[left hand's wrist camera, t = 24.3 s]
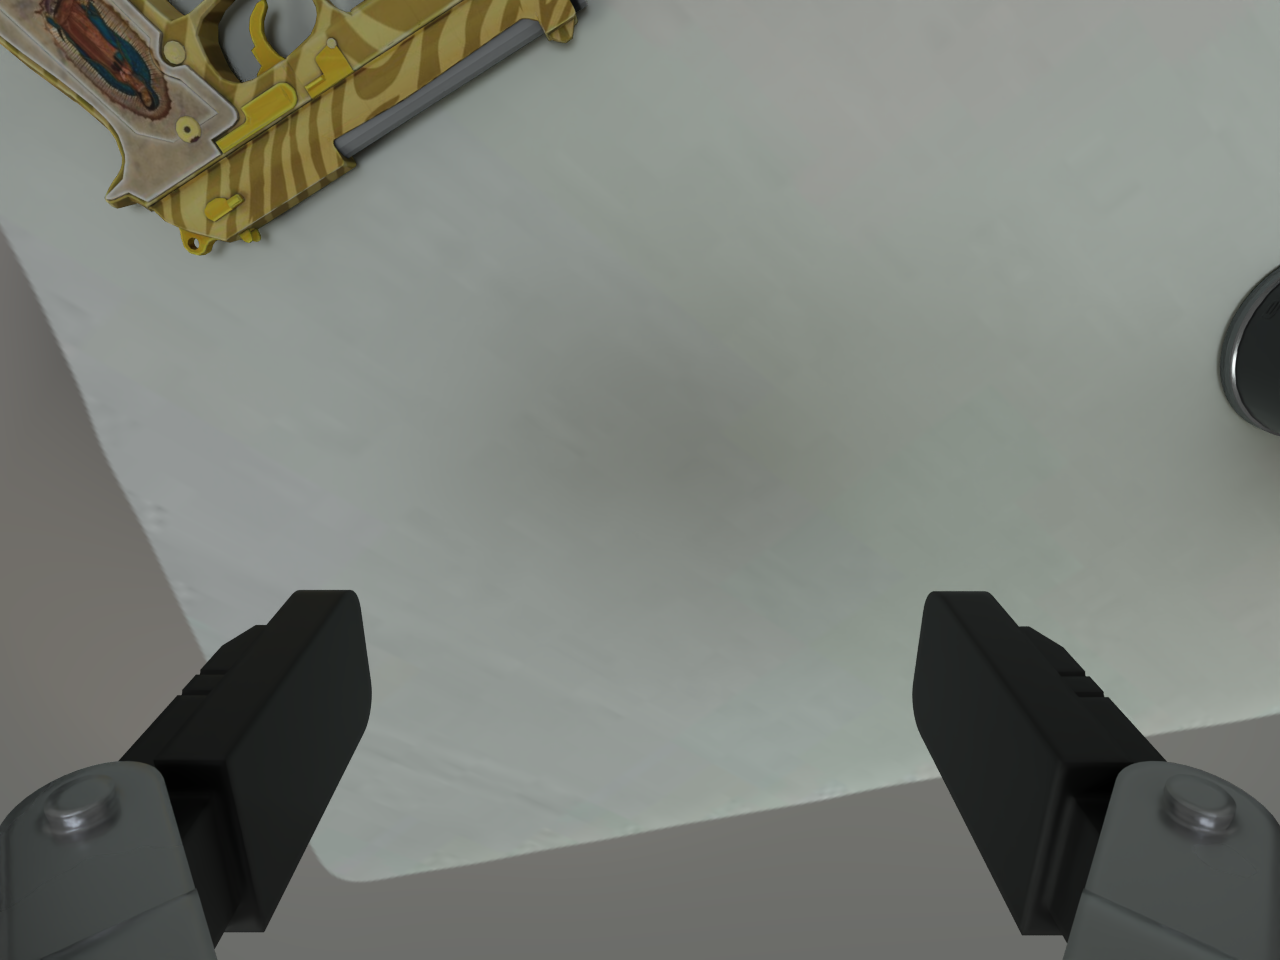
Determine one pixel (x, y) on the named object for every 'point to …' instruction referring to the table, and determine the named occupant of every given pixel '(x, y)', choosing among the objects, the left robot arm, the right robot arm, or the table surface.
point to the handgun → (259, 92)
